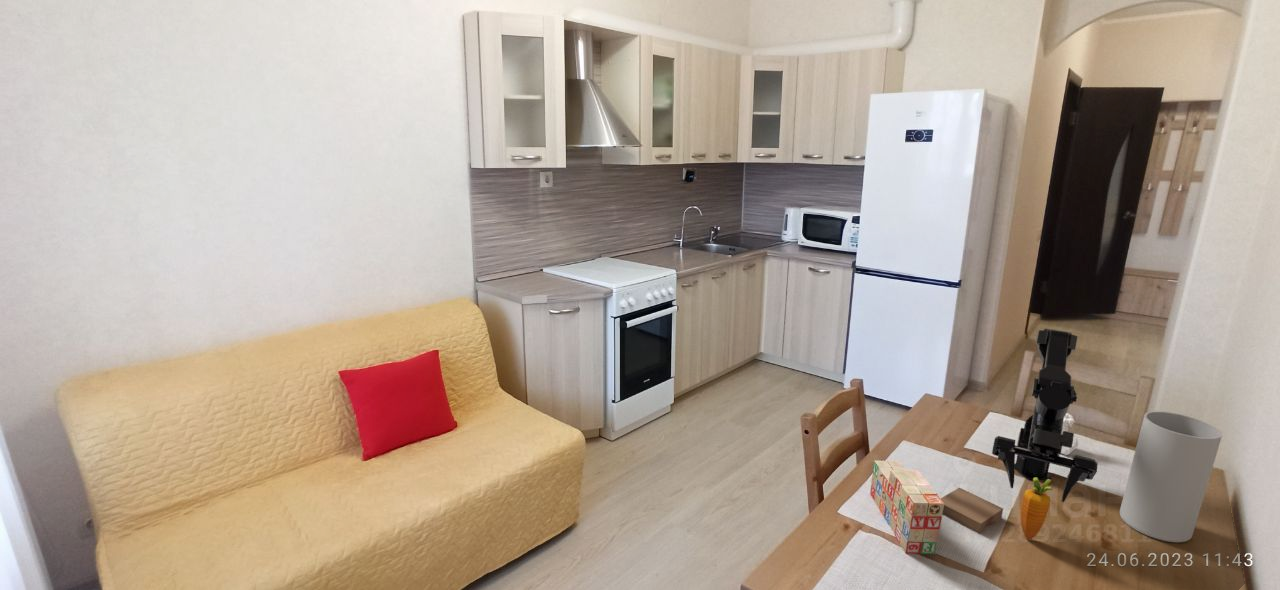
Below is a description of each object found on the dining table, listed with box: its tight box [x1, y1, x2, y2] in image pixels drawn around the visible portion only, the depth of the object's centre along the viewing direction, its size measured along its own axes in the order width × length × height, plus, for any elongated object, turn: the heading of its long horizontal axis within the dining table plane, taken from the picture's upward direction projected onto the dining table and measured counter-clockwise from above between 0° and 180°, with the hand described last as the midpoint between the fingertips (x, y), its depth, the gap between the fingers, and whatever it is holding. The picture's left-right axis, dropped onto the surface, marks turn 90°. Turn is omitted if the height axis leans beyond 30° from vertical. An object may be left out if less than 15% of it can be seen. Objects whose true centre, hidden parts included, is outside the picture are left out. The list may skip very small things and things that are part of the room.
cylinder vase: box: [1119, 410, 1223, 543], centre depth 131 cm, size 12×12×25 cm
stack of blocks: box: [869, 460, 944, 555], centre depth 132 cm, size 21×6×12 cm, turn 179°
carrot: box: [1020, 477, 1053, 541], centre depth 126 cm, size 5×5×15 cm
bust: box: [1060, 412, 1079, 456], centre depth 167 cm, size 12×8×11 cm
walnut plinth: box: [939, 487, 1004, 535], centre depth 136 cm, size 10×10×2 cm
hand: (1036, 494), depth 128 cm, fingers open, 9 cm apart
